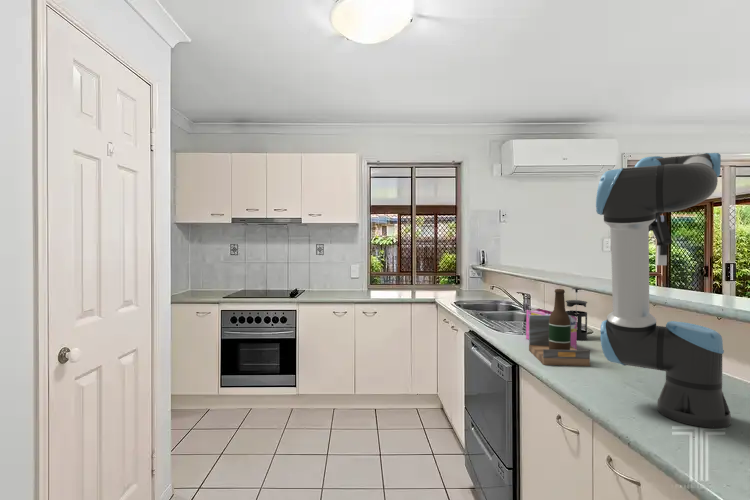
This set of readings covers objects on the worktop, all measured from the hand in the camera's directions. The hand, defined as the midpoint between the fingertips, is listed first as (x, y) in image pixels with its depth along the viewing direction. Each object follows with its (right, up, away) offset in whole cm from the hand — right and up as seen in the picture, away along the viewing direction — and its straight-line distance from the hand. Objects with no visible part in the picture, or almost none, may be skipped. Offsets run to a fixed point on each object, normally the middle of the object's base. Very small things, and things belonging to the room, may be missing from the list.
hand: (650, 264), depth 147 cm
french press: (-3, -36, +48) cm, 60 cm away
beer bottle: (-26, -34, +14) cm, 45 cm away
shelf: (-26, -36, +16) cm, 47 cm away
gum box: (-20, -36, +37) cm, 55 cm away
